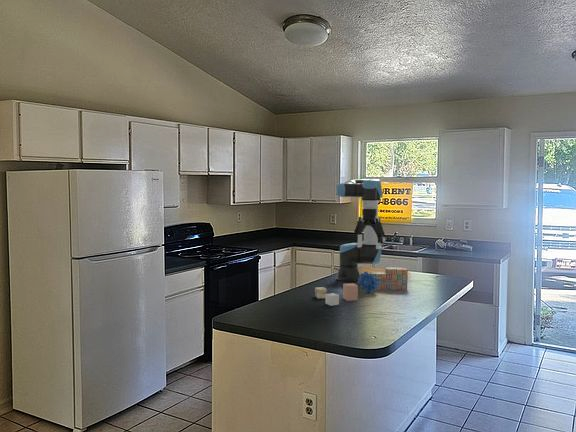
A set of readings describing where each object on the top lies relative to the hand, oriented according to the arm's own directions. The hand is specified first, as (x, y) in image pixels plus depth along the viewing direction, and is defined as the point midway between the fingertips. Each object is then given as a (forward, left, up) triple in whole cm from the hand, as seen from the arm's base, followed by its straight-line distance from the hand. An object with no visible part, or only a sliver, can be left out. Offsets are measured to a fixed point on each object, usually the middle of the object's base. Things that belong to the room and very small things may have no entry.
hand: (368, 247), depth 272 cm
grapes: (-11, +4, -28) cm, 30 cm away
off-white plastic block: (+9, -24, -28) cm, 37 cm away
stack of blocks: (-19, +21, -28) cm, 40 cm away
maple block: (-7, -25, -28) cm, 38 cm away
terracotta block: (+1, -11, -28) cm, 29 cm away
